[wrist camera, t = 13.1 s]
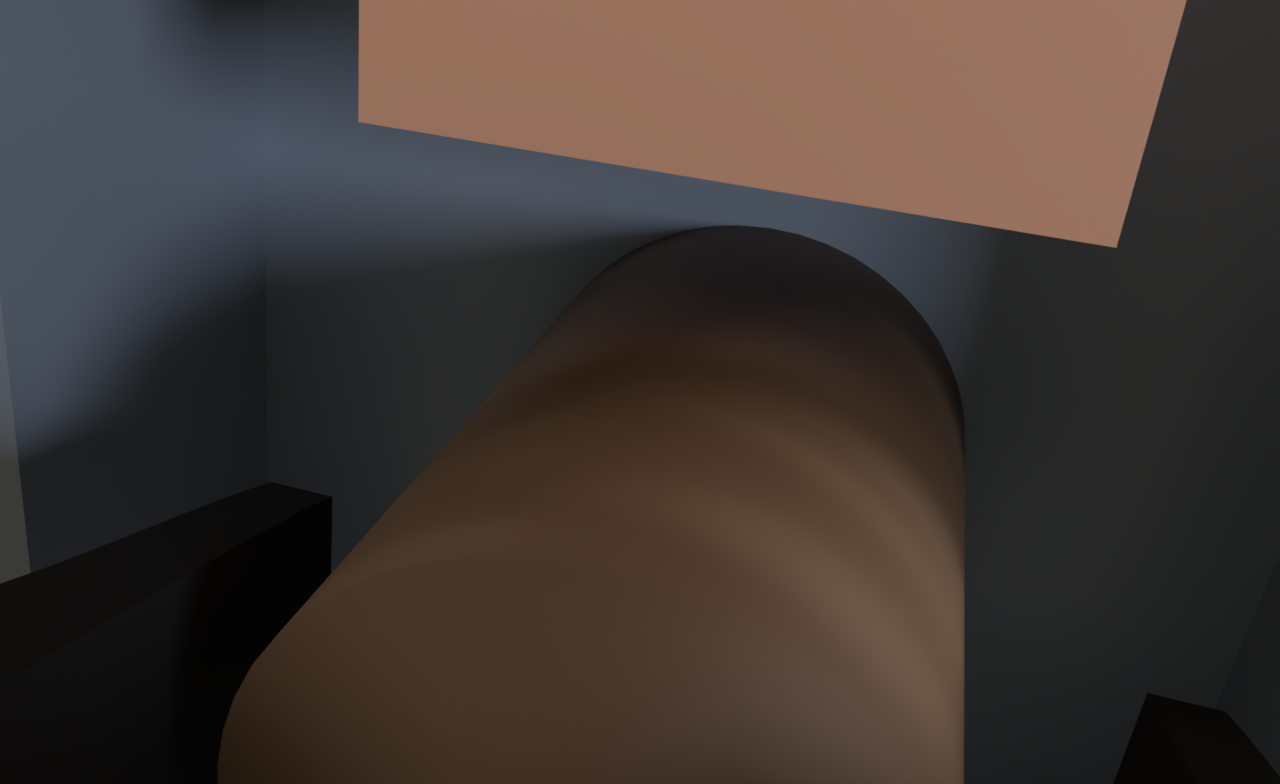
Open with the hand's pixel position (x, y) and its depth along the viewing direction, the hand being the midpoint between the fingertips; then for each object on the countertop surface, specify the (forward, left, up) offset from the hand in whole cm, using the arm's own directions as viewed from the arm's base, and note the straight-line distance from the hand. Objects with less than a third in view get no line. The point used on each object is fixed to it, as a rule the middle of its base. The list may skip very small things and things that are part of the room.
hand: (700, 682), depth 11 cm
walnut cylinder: (0, 0, -4) cm, 4 cm away
